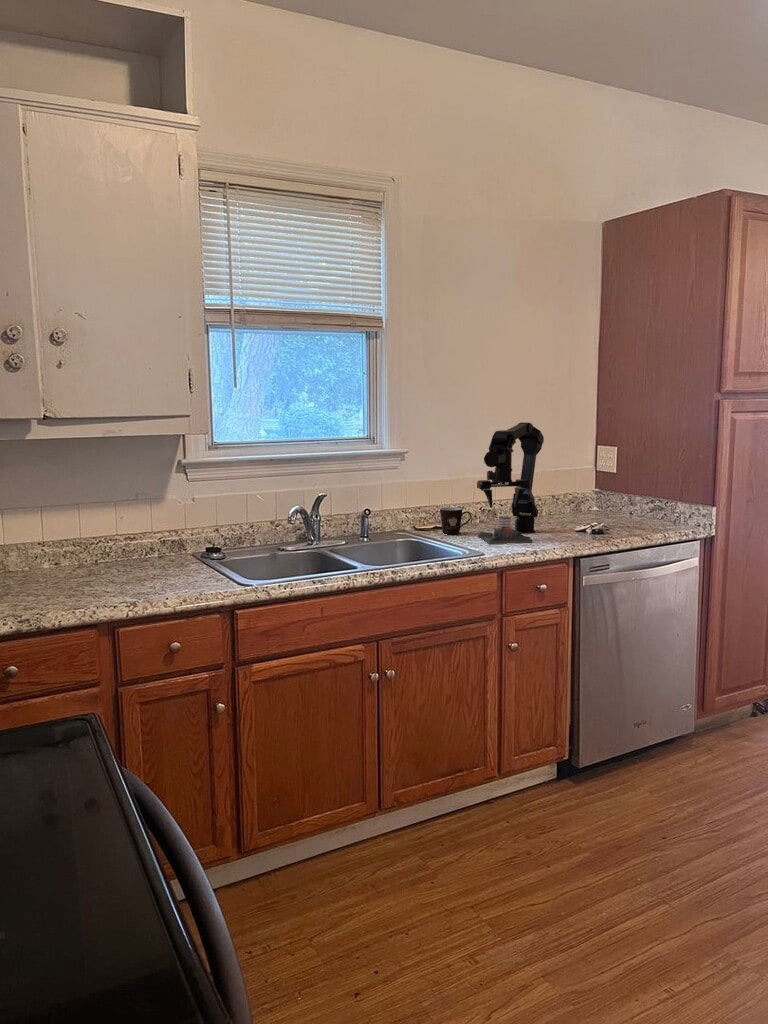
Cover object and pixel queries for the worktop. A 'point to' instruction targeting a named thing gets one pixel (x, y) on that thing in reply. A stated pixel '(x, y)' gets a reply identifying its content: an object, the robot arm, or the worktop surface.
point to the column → (504, 522)
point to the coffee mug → (452, 520)
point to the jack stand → (504, 536)
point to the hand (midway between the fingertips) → (503, 507)
